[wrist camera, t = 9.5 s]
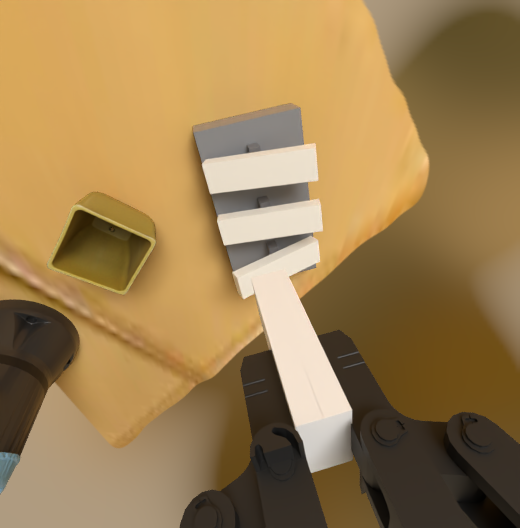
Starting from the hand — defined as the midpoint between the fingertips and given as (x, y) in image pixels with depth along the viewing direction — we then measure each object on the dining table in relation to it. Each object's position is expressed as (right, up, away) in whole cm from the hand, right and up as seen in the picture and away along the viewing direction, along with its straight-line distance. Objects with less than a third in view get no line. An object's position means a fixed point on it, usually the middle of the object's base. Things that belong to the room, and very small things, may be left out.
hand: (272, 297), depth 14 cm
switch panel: (-1, +10, +30) cm, 32 cm away
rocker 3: (+2, +1, +28) cm, 28 cm away
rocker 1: (-1, +12, +20) cm, 23 cm away
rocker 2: (+1, +6, +24) cm, 25 cm away
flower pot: (-20, +7, +28) cm, 35 cm away
